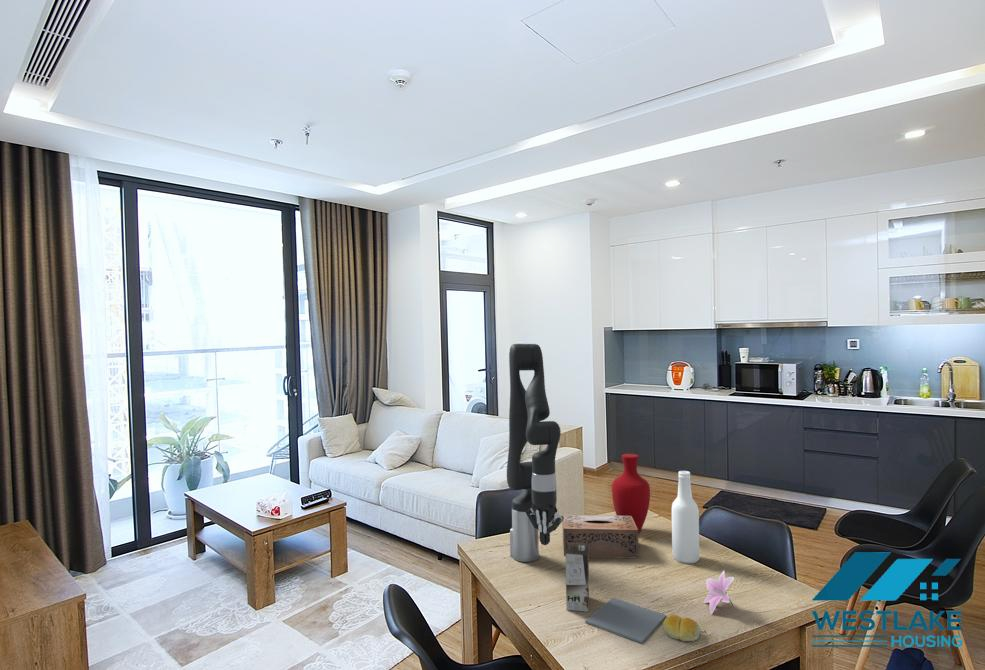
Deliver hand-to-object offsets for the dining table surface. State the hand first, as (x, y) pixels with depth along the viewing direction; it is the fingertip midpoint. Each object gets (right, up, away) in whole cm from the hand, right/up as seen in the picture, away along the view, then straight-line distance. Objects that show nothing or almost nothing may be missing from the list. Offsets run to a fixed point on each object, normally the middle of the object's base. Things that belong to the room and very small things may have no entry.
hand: (545, 544), depth 161 cm
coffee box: (+9, -15, -7) cm, 19 cm away
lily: (+48, -14, -11) cm, 52 cm away
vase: (+39, -14, +48) cm, 64 cm away
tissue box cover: (+23, -15, +32) cm, 42 cm away
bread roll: (+33, -14, -23) cm, 43 cm away
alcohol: (+51, -14, +22) cm, 57 cm away
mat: (+21, -14, -17) cm, 30 cm away
